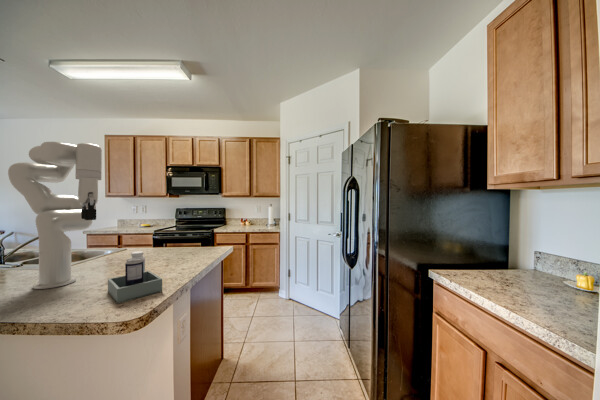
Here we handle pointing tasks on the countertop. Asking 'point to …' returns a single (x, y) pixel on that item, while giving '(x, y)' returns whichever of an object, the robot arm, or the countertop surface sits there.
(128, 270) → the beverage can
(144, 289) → the box
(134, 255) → the pill bottle
